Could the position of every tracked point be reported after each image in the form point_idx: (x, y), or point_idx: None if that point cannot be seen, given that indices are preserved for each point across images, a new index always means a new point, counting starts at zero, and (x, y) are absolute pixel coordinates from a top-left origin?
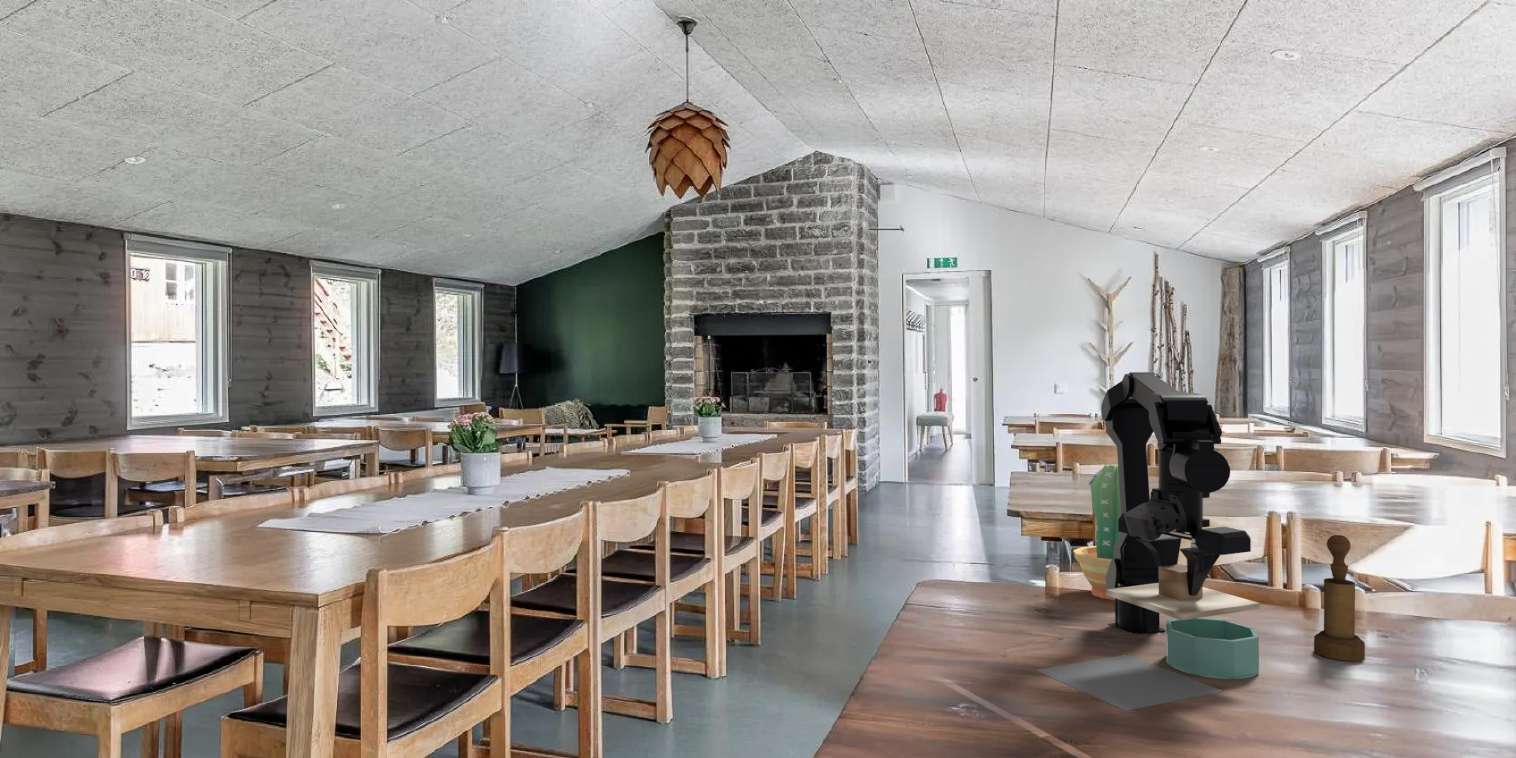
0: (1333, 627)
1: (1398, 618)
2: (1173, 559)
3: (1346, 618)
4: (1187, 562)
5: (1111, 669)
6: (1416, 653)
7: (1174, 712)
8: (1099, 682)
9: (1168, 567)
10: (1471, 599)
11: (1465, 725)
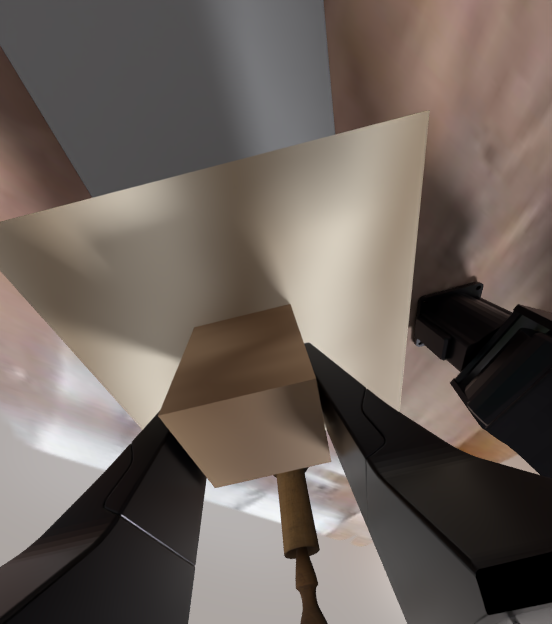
0: (285, 476)
1: (355, 506)
2: (348, 468)
3: (279, 496)
4: (121, 505)
5: (269, 131)
6: (276, 486)
7: (27, 128)
8: (179, 21)
9: (282, 408)
10: (370, 539)
11: (81, 445)
